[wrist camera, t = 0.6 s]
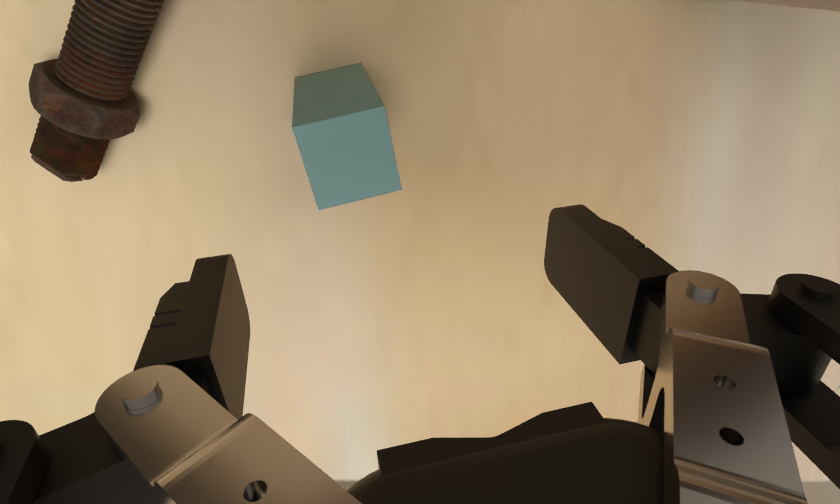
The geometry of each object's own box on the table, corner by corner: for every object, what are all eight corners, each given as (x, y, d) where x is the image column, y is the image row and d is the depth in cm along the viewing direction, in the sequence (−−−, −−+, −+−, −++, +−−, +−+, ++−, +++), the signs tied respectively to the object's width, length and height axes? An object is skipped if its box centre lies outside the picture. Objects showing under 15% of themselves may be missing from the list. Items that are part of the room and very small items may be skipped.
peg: (360, 62, 29) (384, 106, 21) (375, 127, 31) (401, 189, 23) (294, 77, 29) (292, 127, 21) (314, 141, 31) (318, 210, 23)
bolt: (76, 134, 30) (161, -113, 24) (138, 185, 30) (240, -50, 24) (-29, 144, 25) (47, -170, 19) (47, 206, 25) (148, -89, 19)
